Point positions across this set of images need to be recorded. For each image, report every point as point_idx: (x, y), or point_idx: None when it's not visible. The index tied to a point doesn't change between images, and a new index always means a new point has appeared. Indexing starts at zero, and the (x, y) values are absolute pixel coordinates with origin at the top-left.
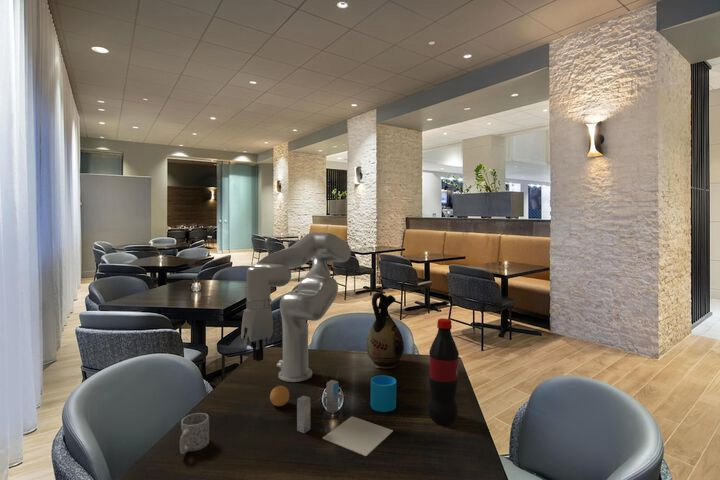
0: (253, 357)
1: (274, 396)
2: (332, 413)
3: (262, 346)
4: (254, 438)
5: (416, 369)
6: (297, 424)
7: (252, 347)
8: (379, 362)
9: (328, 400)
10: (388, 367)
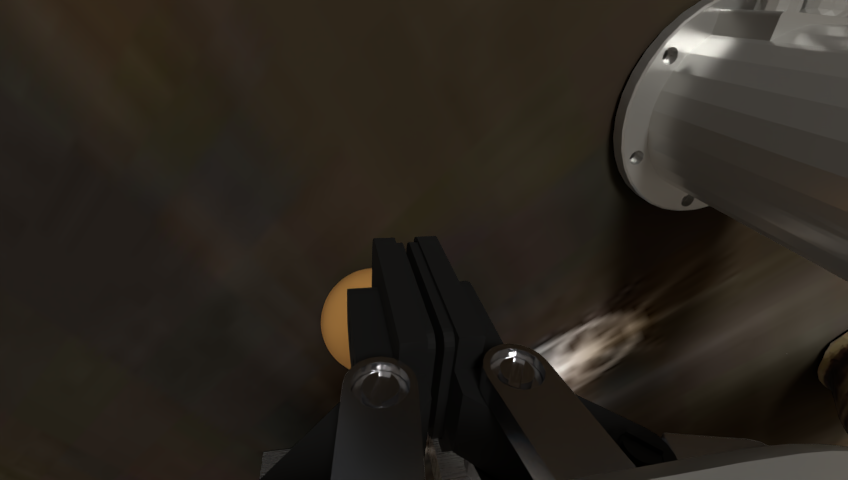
0: (349, 296)
1: (326, 342)
2: (428, 448)
3: (466, 467)
4: (99, 404)
5: (817, 426)
6: (260, 475)
7: (330, 426)
8: (839, 384)
9: (439, 478)
10: (822, 382)
